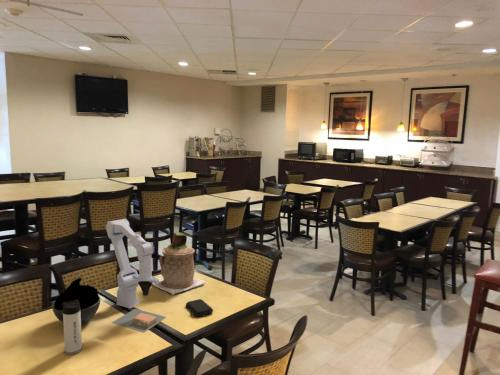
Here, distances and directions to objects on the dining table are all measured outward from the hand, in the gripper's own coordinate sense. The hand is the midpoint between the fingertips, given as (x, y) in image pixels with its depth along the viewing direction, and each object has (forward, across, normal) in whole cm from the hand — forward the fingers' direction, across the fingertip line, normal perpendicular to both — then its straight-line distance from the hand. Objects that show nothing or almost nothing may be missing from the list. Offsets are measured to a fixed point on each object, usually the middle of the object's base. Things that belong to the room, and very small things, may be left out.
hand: (145, 295), depth 182 cm
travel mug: (+10, -5, -38) cm, 40 cm away
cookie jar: (+10, -8, +37) cm, 39 cm away
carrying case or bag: (+10, +20, +15) cm, 27 cm away
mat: (+9, +2, -7) cm, 12 cm away
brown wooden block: (+8, +1, -8) cm, 11 cm away
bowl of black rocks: (+10, -22, -21) cm, 32 cm away
